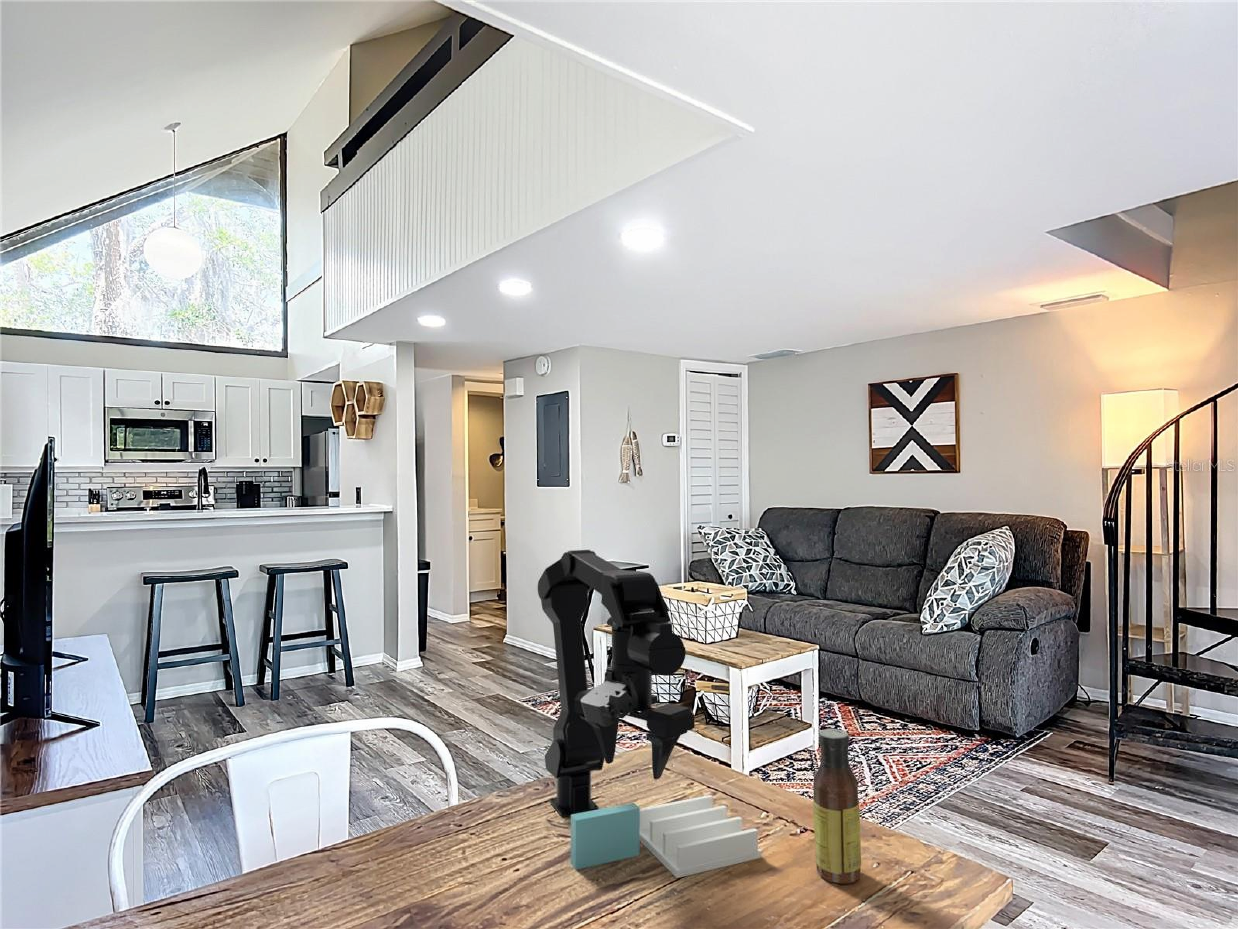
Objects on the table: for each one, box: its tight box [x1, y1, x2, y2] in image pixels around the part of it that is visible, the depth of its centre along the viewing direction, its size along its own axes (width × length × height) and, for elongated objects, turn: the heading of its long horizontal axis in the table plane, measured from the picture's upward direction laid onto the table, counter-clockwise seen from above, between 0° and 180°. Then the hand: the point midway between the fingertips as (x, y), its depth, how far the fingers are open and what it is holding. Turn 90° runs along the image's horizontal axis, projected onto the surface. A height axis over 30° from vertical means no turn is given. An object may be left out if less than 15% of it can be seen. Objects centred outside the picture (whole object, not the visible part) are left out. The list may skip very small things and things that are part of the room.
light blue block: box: [570, 802, 641, 871], centre depth 112 cm, size 2×10×7 cm, turn 115°
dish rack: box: [639, 794, 762, 879], centre depth 116 cm, size 14×14×4 cm
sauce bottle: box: [812, 728, 862, 885], centre depth 108 cm, size 6×6×20 cm
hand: (632, 770), depth 110 cm, fingers open, 9 cm apart
